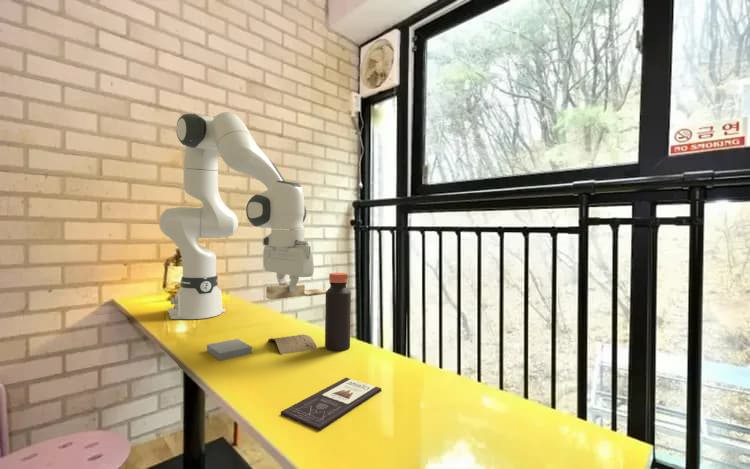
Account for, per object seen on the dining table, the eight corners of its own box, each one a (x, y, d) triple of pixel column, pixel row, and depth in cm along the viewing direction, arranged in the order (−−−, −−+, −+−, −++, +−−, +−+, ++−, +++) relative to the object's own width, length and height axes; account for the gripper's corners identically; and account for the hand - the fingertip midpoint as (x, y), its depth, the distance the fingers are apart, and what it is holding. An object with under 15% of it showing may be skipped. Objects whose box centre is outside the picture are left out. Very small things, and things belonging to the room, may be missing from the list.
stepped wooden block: (274, 300, 95) (274, 288, 95) (263, 297, 99) (263, 286, 99) (327, 293, 107) (327, 283, 107) (315, 290, 111) (315, 281, 111)
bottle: (355, 347, 100) (356, 273, 99) (336, 353, 95) (337, 276, 95) (338, 341, 104) (339, 271, 104) (319, 347, 99) (320, 273, 99)
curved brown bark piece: (266, 343, 105) (266, 333, 104) (300, 338, 110) (300, 329, 110) (281, 358, 92) (281, 347, 92) (319, 352, 97) (319, 342, 97)
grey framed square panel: (207, 344, 95) (219, 353, 88) (237, 338, 100) (251, 346, 94) (206, 352, 95) (219, 362, 88) (237, 346, 100) (251, 354, 94)
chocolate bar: (280, 411, 63) (345, 377, 78) (280, 417, 63) (345, 381, 78) (319, 428, 58) (381, 388, 73) (319, 434, 58) (381, 392, 73)
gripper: (319, 241, 95) (319, 294, 96) (279, 239, 110) (278, 285, 110) (299, 241, 91) (298, 297, 91) (259, 239, 106) (258, 287, 106)
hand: (287, 290), depth 101 cm, fingers closed on stepped wooden block, 3 cm apart
